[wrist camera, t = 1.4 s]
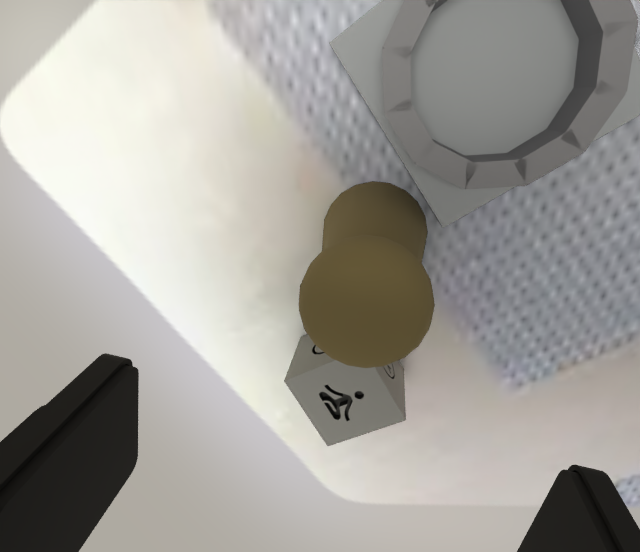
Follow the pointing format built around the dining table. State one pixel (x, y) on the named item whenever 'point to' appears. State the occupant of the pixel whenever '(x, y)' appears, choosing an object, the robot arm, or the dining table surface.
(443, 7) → the ring board
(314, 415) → the dice cube
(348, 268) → the brown round-headed peg
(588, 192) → the dining table surface
